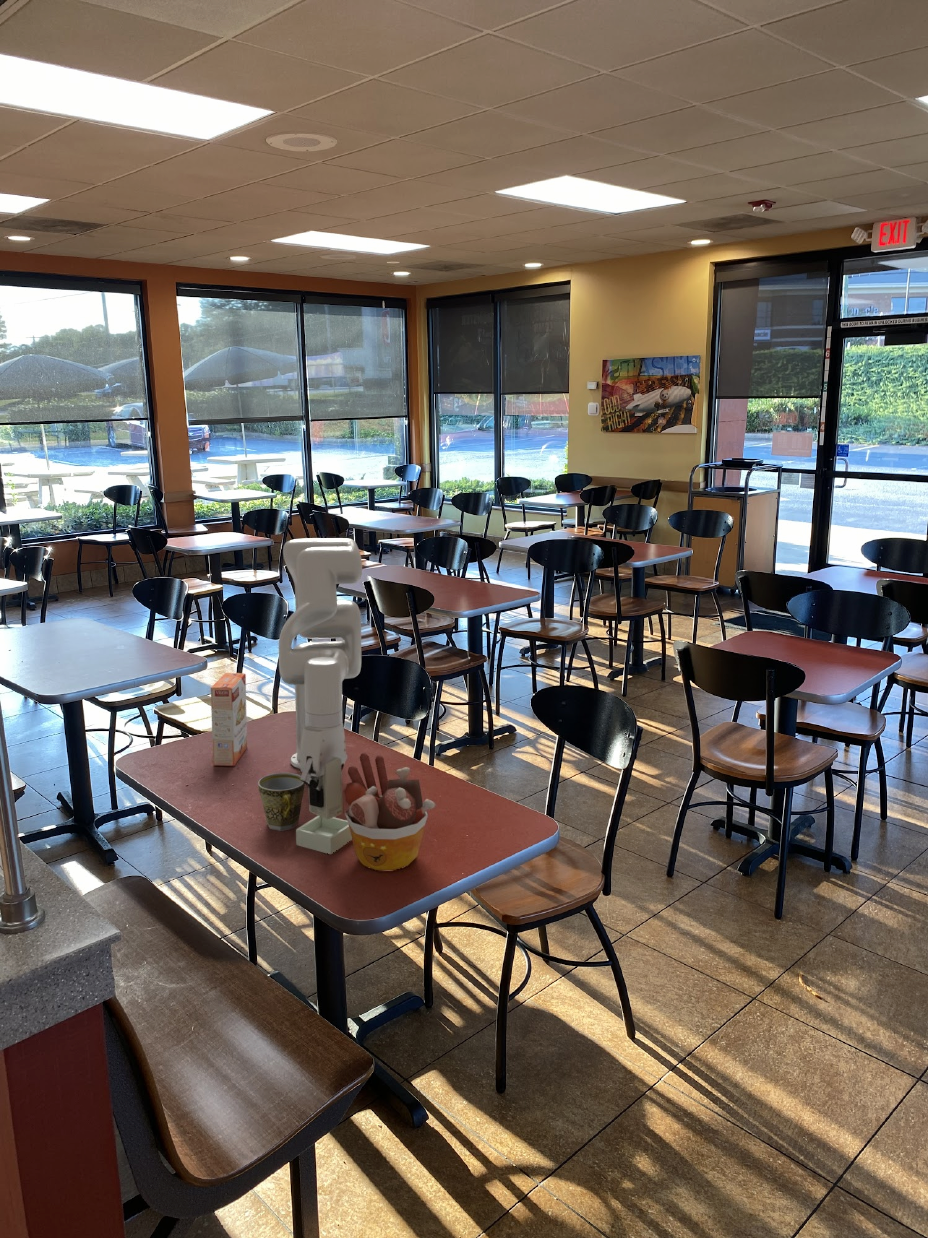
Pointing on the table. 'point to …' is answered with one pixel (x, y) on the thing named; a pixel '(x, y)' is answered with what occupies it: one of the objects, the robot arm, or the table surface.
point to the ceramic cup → (282, 799)
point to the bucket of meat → (385, 816)
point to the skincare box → (330, 791)
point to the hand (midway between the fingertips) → (325, 800)
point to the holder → (324, 834)
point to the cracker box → (229, 719)
